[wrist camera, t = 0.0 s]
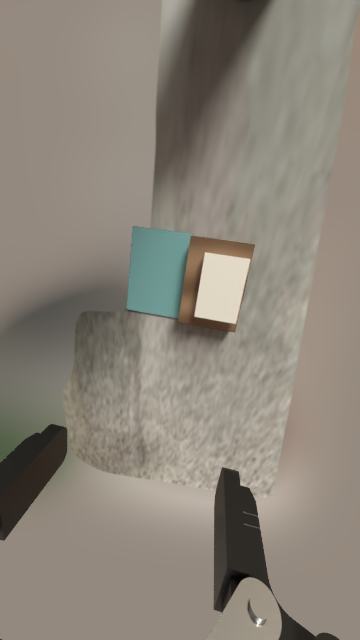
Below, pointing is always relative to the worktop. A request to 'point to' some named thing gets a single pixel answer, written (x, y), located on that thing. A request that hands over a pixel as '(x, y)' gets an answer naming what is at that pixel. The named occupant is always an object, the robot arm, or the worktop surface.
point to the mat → (157, 271)
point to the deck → (194, 275)
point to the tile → (221, 287)
